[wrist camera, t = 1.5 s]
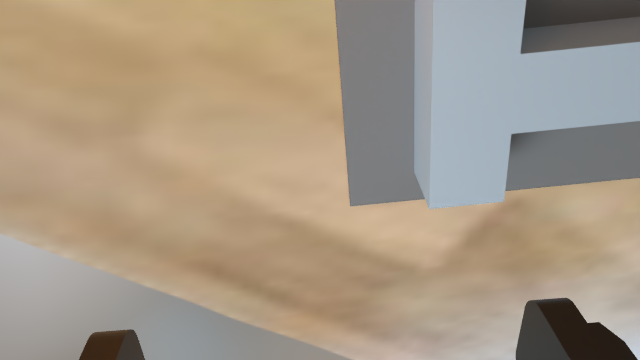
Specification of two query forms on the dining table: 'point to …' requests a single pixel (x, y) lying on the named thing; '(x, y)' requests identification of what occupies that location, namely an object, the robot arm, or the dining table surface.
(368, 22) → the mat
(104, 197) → the dining table surface
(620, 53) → the t block
